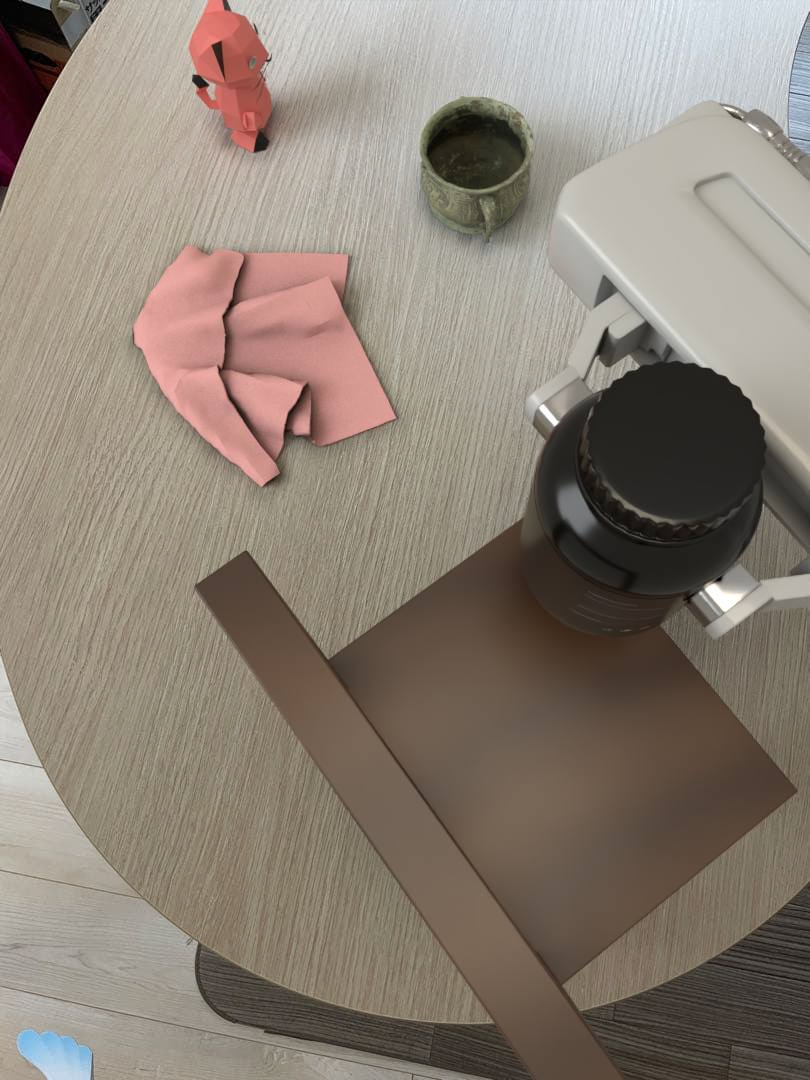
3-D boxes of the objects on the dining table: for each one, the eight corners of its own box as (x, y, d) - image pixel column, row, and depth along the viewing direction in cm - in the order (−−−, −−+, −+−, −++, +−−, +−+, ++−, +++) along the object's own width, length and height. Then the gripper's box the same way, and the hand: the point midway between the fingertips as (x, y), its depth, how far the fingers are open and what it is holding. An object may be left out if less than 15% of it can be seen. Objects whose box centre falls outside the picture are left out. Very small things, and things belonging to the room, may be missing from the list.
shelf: (657, 798, 64) (1091, 775, 21) (493, 930, 62) (611, 1192, 19) (510, 611, 67) (630, 279, 25) (351, 730, 66) (192, 586, 23)
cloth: (162, 230, 77) (153, 212, 75) (426, 266, 75) (425, 249, 73) (96, 461, 72) (85, 449, 69) (379, 506, 70) (377, 496, 68)
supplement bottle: (508, 477, 37) (535, 329, 26) (681, 464, 37) (786, 309, 26) (525, 649, 35) (562, 572, 24) (708, 637, 35) (834, 553, 24)
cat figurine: (285, 162, 79) (258, 51, 67) (203, 162, 79) (162, 51, 67) (290, 91, 80) (265, -29, 69) (210, 92, 81) (172, -28, 69)
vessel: (407, 143, 79) (404, 88, 73) (511, 125, 79) (517, 68, 73) (434, 268, 75) (434, 220, 69) (543, 248, 75) (552, 199, 69)
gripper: (757, 13, 31) (421, 235, 30) (1258, 477, 26) (890, 779, 24) (707, 142, 37) (426, 333, 36) (1106, 539, 32) (802, 786, 31)
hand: (618, 519), depth 30 cm, fingers closed on supplement bottle, 7 cm apart
